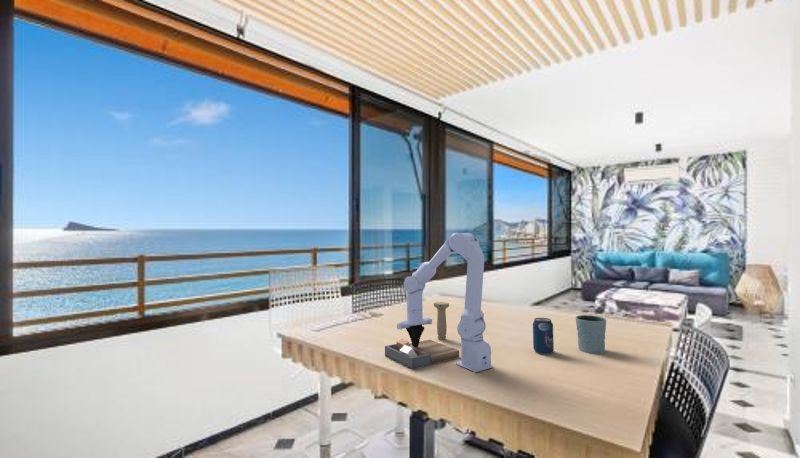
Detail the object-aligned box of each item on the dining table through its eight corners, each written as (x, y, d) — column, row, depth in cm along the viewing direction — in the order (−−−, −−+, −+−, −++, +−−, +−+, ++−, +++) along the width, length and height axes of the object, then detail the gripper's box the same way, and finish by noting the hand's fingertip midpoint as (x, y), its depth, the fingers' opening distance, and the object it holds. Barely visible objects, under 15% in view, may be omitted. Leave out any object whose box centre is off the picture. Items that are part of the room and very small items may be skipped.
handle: (448, 341, 148) (447, 304, 149) (433, 340, 150) (432, 303, 151) (450, 338, 153) (450, 302, 153) (435, 337, 155) (435, 301, 155)
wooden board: (459, 357, 128) (459, 350, 128) (431, 364, 121) (431, 357, 121) (429, 345, 142) (429, 339, 142) (403, 351, 135) (403, 345, 136)
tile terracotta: (408, 341, 129) (403, 344, 127) (411, 353, 129) (406, 356, 128) (401, 338, 133) (396, 341, 131) (404, 350, 133) (399, 353, 132)
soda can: (550, 356, 128) (550, 322, 128) (530, 352, 132) (530, 319, 132) (556, 351, 133) (555, 318, 134) (536, 348, 138) (535, 316, 138)
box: (431, 364, 121) (431, 354, 121) (412, 369, 117) (411, 358, 117) (403, 351, 135) (403, 342, 136) (384, 355, 131) (384, 346, 131)
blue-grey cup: (599, 346, 139) (598, 315, 139) (612, 355, 129) (611, 321, 129) (572, 346, 140) (571, 314, 140) (582, 354, 130) (581, 320, 130)
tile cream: (412, 348, 121) (407, 353, 120) (418, 357, 122) (413, 363, 121) (404, 344, 125) (399, 350, 123) (410, 354, 126) (406, 359, 125)
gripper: (423, 305, 141) (424, 340, 140) (392, 309, 133) (392, 346, 132) (435, 308, 135) (435, 344, 134) (402, 312, 127) (403, 351, 127)
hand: (415, 346), depth 133 cm, fingers closed
